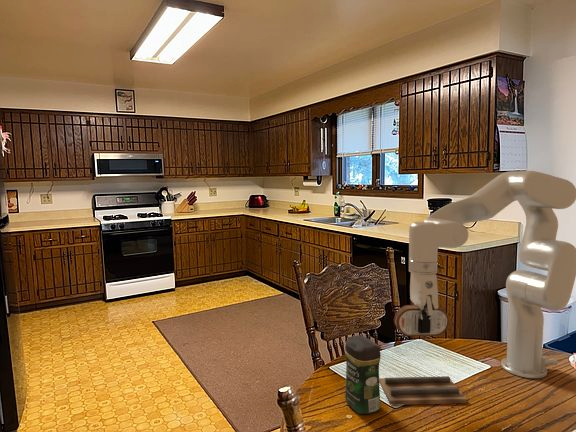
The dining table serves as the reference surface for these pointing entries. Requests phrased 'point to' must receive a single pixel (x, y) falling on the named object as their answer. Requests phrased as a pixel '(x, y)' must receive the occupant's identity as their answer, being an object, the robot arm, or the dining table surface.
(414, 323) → the tin
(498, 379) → the dining table surface
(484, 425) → the dining table surface
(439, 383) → the holder
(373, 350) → the coffee jar
